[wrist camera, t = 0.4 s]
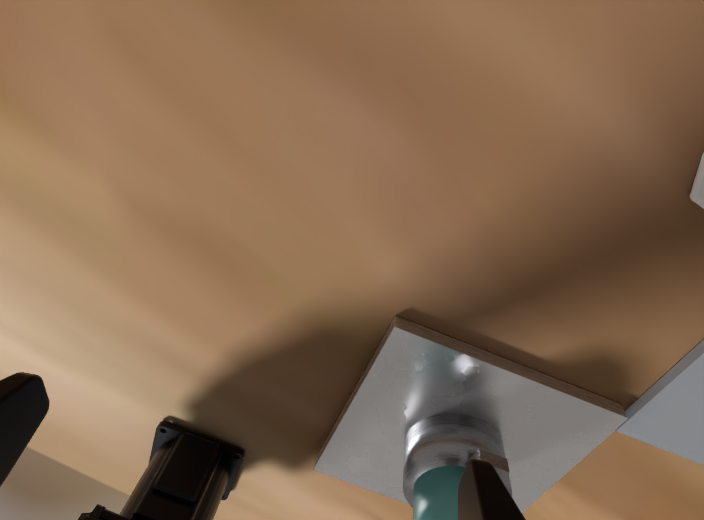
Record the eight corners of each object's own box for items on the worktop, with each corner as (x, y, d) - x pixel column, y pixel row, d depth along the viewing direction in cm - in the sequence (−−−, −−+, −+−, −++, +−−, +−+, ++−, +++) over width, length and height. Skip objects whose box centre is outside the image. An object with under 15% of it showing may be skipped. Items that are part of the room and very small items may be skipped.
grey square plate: (494, 521, 32) (504, 597, 28) (316, 456, 31) (300, 525, 27) (621, 404, 25) (660, 482, 21) (395, 315, 24) (390, 379, 20)
